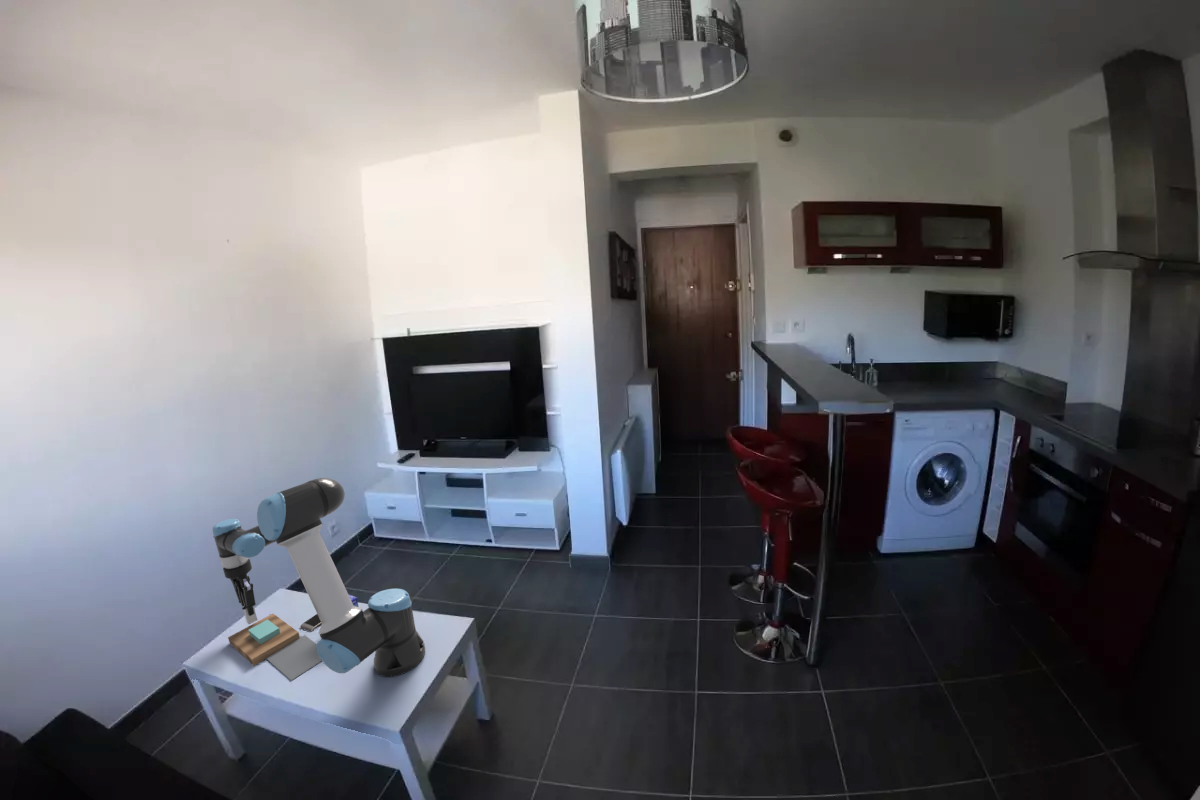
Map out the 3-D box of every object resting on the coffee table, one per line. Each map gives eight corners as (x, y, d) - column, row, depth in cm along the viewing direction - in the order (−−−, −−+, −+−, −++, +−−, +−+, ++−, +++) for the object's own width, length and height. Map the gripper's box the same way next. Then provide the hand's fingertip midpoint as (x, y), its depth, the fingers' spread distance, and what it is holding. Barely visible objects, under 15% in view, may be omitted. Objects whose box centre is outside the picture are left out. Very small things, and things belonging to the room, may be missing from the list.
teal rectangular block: (280, 633, 162) (279, 628, 161) (260, 644, 157) (259, 639, 156) (268, 624, 167) (267, 619, 166) (249, 634, 162) (248, 629, 161)
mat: (331, 655, 153) (330, 654, 153) (291, 681, 144) (291, 680, 144) (304, 635, 163) (304, 635, 163) (266, 658, 154) (265, 657, 154)
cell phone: (339, 613, 175) (338, 610, 174) (311, 633, 165) (310, 629, 165) (328, 609, 177) (327, 606, 177) (299, 629, 168) (298, 625, 167)
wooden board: (300, 638, 162) (298, 632, 161) (253, 666, 151) (252, 659, 150) (274, 619, 173) (273, 613, 172) (229, 643, 162) (227, 637, 161)
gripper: (256, 562, 161) (272, 621, 166) (241, 552, 168) (256, 609, 173) (230, 573, 155) (247, 634, 160) (216, 563, 162) (232, 621, 167)
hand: (252, 621), depth 167 cm, fingers closed
